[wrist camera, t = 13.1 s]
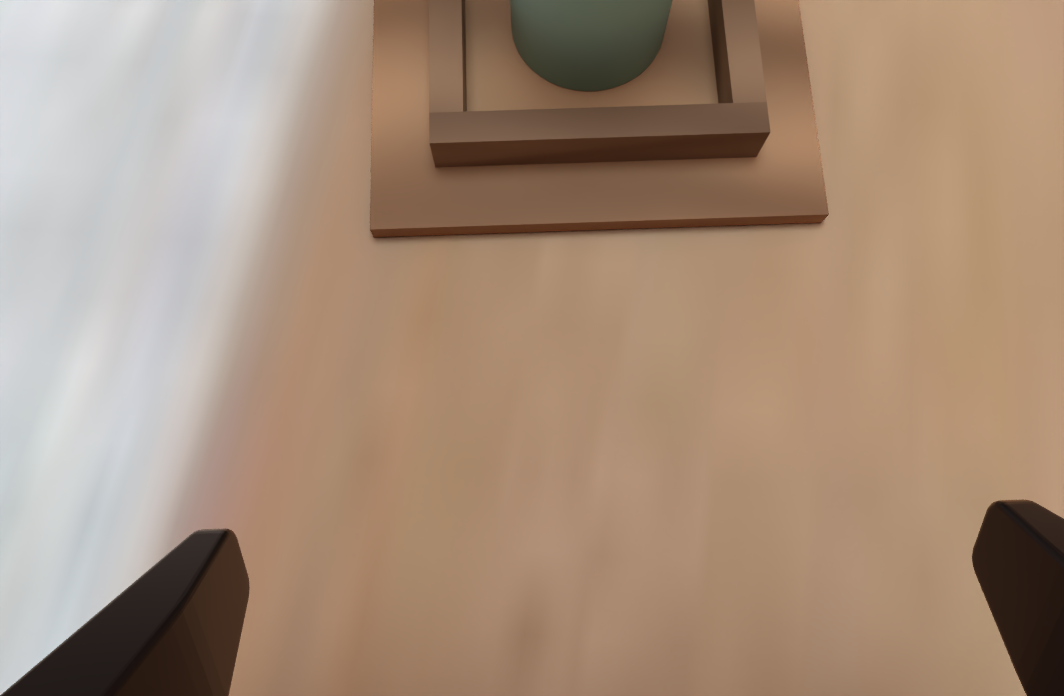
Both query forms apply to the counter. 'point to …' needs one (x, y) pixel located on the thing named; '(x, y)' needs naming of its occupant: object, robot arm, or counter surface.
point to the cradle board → (591, 126)
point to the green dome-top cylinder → (589, 39)
